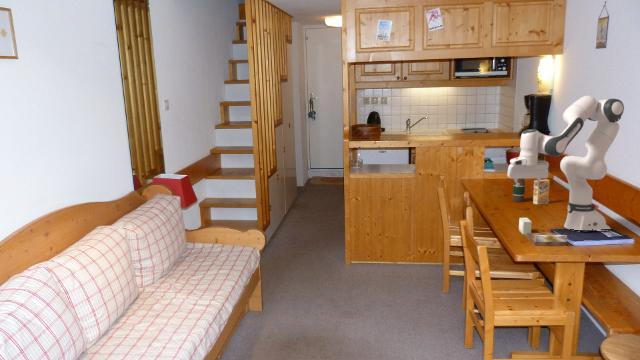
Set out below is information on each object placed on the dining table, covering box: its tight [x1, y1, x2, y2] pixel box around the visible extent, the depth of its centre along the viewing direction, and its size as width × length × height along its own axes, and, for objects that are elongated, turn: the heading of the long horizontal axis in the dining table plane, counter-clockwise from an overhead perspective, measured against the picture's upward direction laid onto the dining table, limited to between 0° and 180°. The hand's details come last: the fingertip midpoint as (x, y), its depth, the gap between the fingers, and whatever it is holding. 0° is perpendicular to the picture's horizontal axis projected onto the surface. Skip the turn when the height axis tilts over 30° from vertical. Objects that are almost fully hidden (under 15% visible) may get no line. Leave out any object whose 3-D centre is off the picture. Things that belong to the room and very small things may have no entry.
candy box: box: [532, 178, 550, 206], centre depth 334 cm, size 9×4×15 cm, turn 107°
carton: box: [518, 217, 533, 236], centre depth 279 cm, size 4×8×7 cm, turn 175°
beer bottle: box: [512, 178, 526, 203], centre depth 341 cm, size 8×8×24 cm
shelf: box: [525, 232, 568, 247], centre depth 264 cm, size 15×14×5 cm
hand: (526, 186), depth 274 cm, fingers open, 8 cm apart
